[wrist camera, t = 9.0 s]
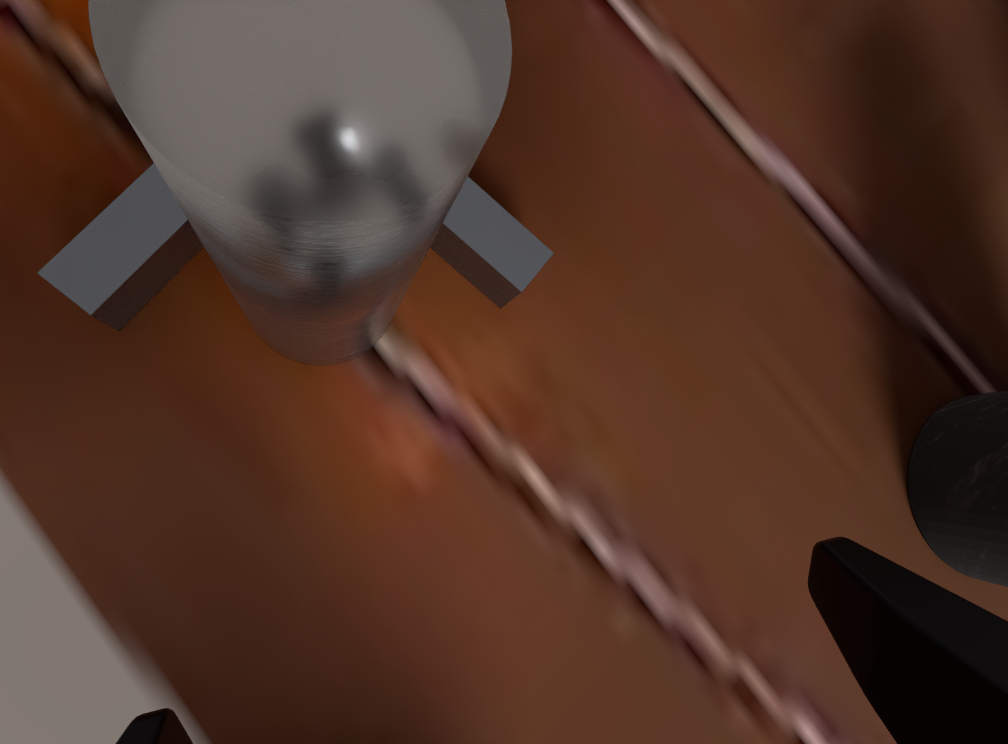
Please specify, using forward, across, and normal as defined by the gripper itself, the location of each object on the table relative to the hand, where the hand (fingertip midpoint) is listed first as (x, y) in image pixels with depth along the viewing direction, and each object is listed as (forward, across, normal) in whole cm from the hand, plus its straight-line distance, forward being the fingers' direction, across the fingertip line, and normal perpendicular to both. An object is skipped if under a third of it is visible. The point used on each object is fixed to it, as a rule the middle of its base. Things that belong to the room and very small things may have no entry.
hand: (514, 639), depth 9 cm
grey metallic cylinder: (+14, +3, 0) cm, 14 cm away
